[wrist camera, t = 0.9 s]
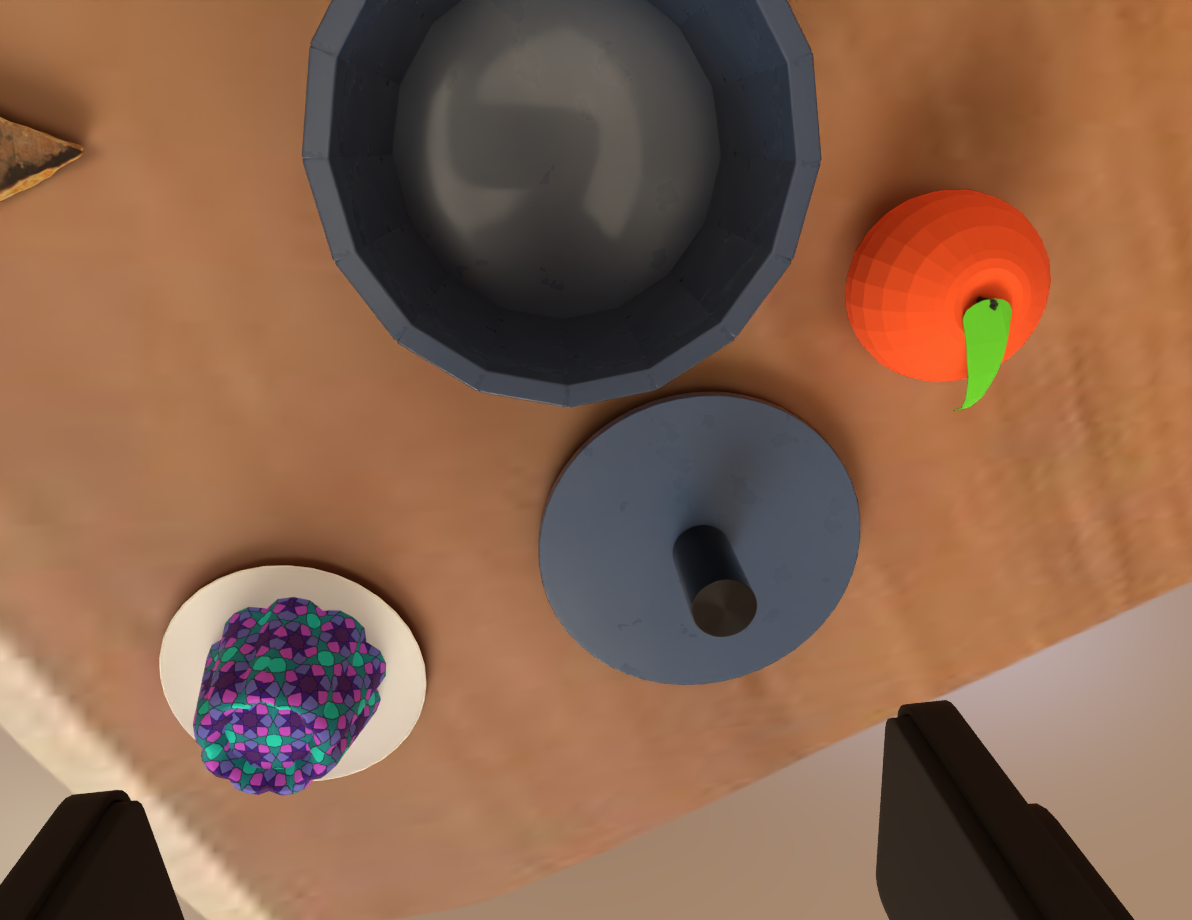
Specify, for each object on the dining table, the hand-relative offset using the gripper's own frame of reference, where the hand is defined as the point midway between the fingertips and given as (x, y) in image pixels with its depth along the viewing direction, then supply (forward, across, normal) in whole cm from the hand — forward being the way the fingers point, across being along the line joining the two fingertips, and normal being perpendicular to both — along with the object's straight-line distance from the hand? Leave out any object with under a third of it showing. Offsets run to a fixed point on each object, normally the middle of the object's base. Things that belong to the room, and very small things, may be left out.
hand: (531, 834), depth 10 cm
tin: (+25, -2, -8) cm, 26 cm away
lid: (+24, -6, +9) cm, 27 cm away
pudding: (+25, +13, +14) cm, 31 cm away
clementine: (+25, -15, -2) cm, 29 cm away
